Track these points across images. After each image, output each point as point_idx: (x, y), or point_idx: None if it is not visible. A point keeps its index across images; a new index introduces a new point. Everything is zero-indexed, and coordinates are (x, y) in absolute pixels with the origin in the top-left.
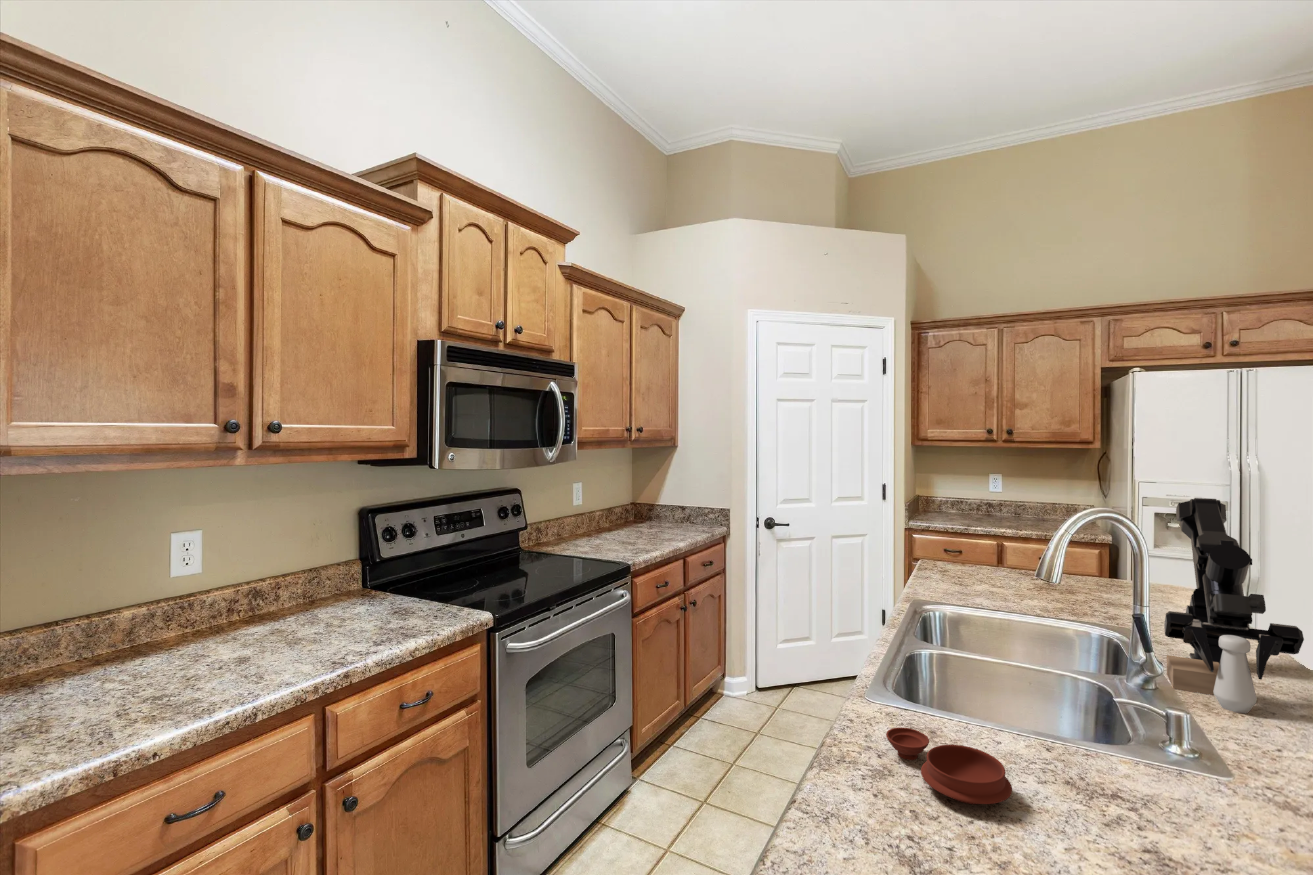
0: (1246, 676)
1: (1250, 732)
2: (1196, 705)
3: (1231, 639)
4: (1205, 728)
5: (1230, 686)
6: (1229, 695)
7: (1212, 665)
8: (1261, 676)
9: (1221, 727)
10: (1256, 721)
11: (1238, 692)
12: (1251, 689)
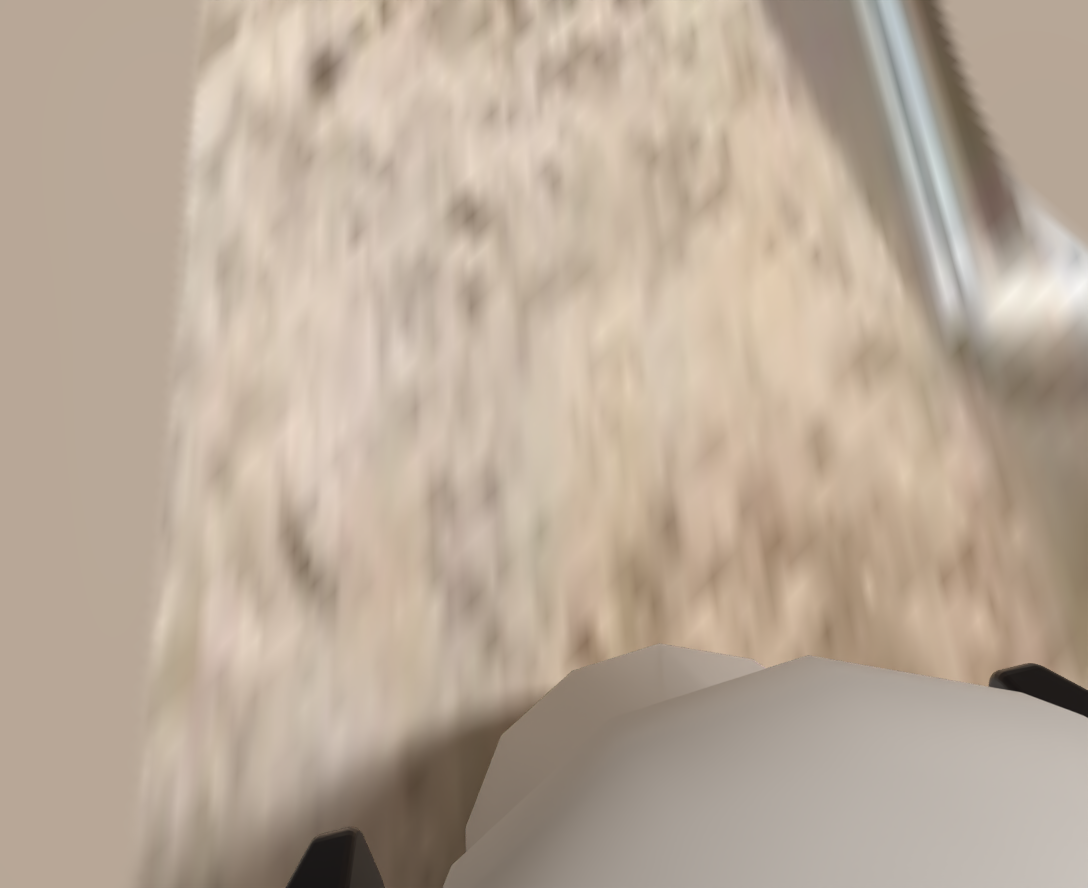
0: (537, 779)
1: (499, 273)
2: (959, 628)
3: (1000, 841)
4: (775, 105)
5: (716, 673)
6: (709, 654)
7: (1047, 701)
8: (328, 834)
9: (686, 216)
10: (474, 588)
11: (625, 671)
12: (495, 796)
